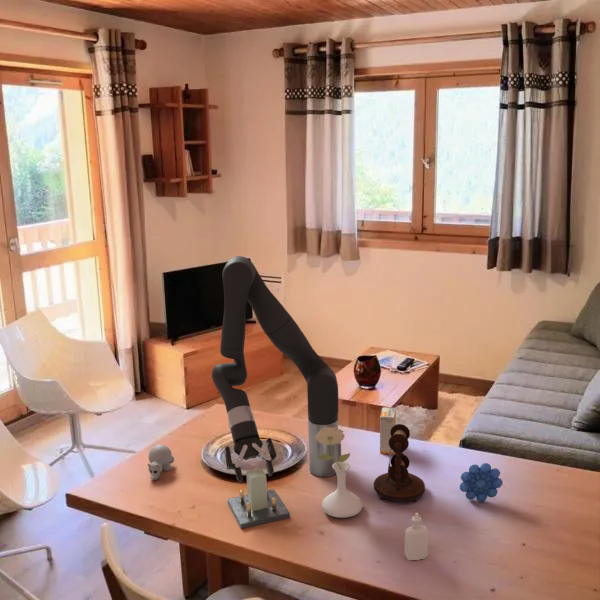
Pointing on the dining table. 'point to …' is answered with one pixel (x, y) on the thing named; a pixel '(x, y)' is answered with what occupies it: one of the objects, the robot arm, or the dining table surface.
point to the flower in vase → (341, 499)
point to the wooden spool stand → (399, 471)
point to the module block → (257, 489)
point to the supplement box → (386, 428)
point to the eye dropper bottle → (416, 540)
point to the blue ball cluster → (480, 482)
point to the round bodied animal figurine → (159, 460)
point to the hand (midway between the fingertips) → (256, 478)
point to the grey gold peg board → (262, 516)
